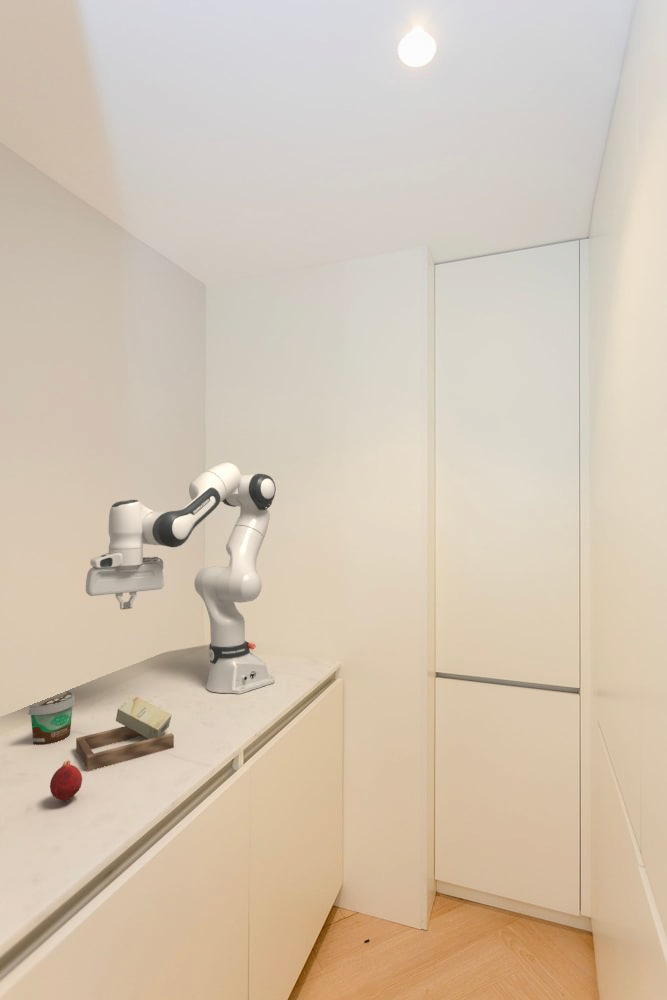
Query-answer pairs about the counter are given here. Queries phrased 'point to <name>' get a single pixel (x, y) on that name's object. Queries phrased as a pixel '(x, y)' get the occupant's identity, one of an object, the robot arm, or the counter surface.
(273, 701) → the counter surface
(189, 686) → the counter surface
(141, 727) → the skincare box
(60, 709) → the food container
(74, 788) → the red pomegranate
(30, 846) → the counter surface
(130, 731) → the u rest
